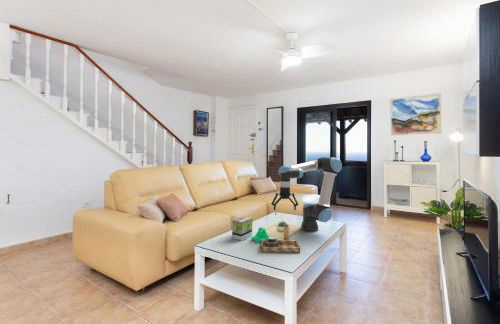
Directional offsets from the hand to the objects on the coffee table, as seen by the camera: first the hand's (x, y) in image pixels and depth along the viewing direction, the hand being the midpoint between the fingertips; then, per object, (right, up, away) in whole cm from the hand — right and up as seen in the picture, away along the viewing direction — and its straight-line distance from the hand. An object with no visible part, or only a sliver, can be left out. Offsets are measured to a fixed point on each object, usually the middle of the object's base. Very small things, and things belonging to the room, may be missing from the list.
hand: (284, 214), depth 197 cm
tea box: (-32, -21, +11) cm, 40 cm away
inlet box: (-5, -22, -13) cm, 26 cm away
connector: (+1, -21, 0) cm, 21 cm away
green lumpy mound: (-18, -21, +3) cm, 28 cm away
